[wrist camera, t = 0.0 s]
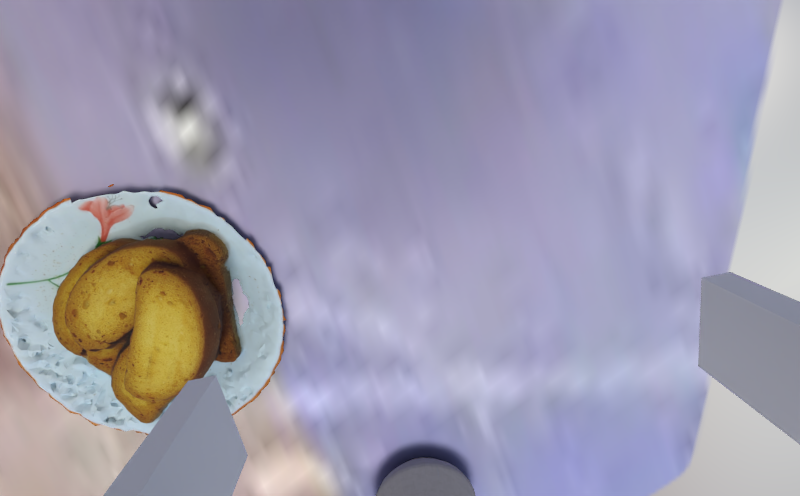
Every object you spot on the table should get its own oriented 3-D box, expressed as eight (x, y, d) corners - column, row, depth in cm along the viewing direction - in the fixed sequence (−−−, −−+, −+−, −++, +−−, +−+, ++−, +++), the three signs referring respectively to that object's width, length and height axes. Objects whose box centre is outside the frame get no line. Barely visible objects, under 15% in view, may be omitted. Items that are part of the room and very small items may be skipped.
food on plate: (-30, 227, 37) (-113, 249, 31) (227, 150, 36) (195, 156, 30) (105, 442, 44) (61, 494, 38) (320, 382, 44) (311, 425, 37)
